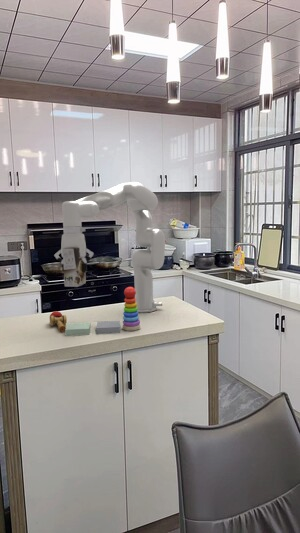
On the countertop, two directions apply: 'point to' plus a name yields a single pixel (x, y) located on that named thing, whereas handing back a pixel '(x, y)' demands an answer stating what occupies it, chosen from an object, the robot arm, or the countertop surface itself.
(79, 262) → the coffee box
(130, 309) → the stacking toy
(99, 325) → the grey brick
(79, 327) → the sage brick
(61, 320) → the kendama
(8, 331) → the countertop surface
